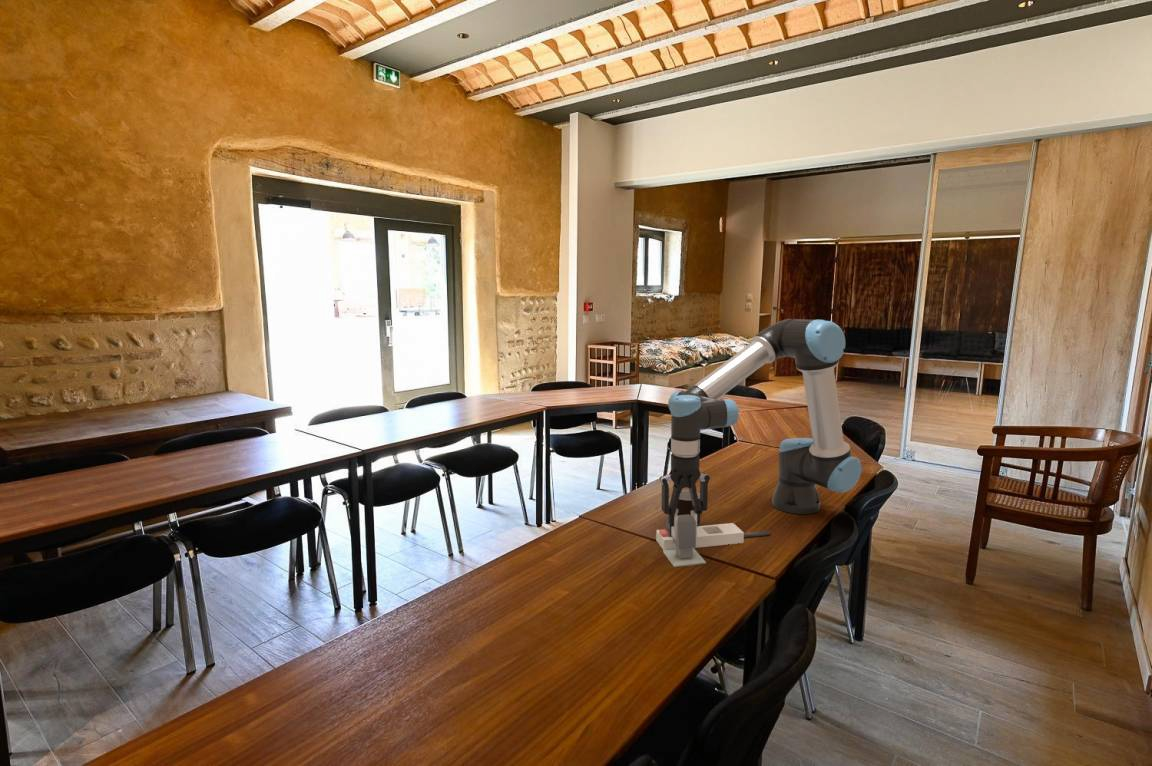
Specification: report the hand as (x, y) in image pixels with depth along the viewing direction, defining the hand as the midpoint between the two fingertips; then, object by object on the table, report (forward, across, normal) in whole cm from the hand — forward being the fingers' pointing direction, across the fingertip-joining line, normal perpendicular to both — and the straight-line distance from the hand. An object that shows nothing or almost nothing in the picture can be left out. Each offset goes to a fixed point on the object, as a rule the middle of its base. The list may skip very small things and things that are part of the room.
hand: (684, 535), depth 154 cm
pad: (+6, 0, 0) cm, 6 cm away
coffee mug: (+7, -9, -22) cm, 24 cm away
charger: (+5, 0, 0) cm, 5 cm away
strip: (+6, -13, -8) cm, 17 cm away
